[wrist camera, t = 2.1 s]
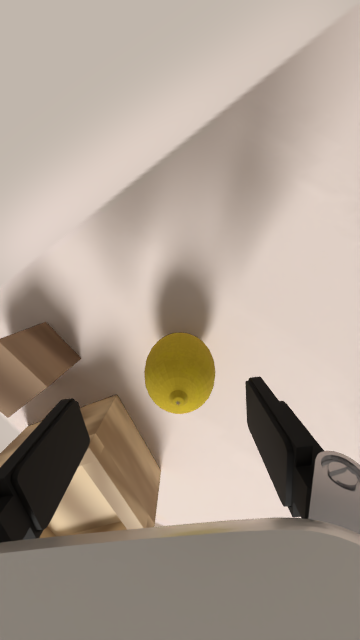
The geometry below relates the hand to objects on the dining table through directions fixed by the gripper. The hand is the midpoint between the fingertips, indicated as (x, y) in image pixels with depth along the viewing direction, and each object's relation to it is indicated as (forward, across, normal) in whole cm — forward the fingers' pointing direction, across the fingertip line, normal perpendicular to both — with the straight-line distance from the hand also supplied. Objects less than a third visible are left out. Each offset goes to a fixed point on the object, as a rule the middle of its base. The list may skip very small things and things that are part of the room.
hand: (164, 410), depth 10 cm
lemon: (+9, -1, 0) cm, 9 cm away
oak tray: (+9, +11, +12) cm, 19 cm away
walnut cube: (+9, +13, 0) cm, 16 cm away
